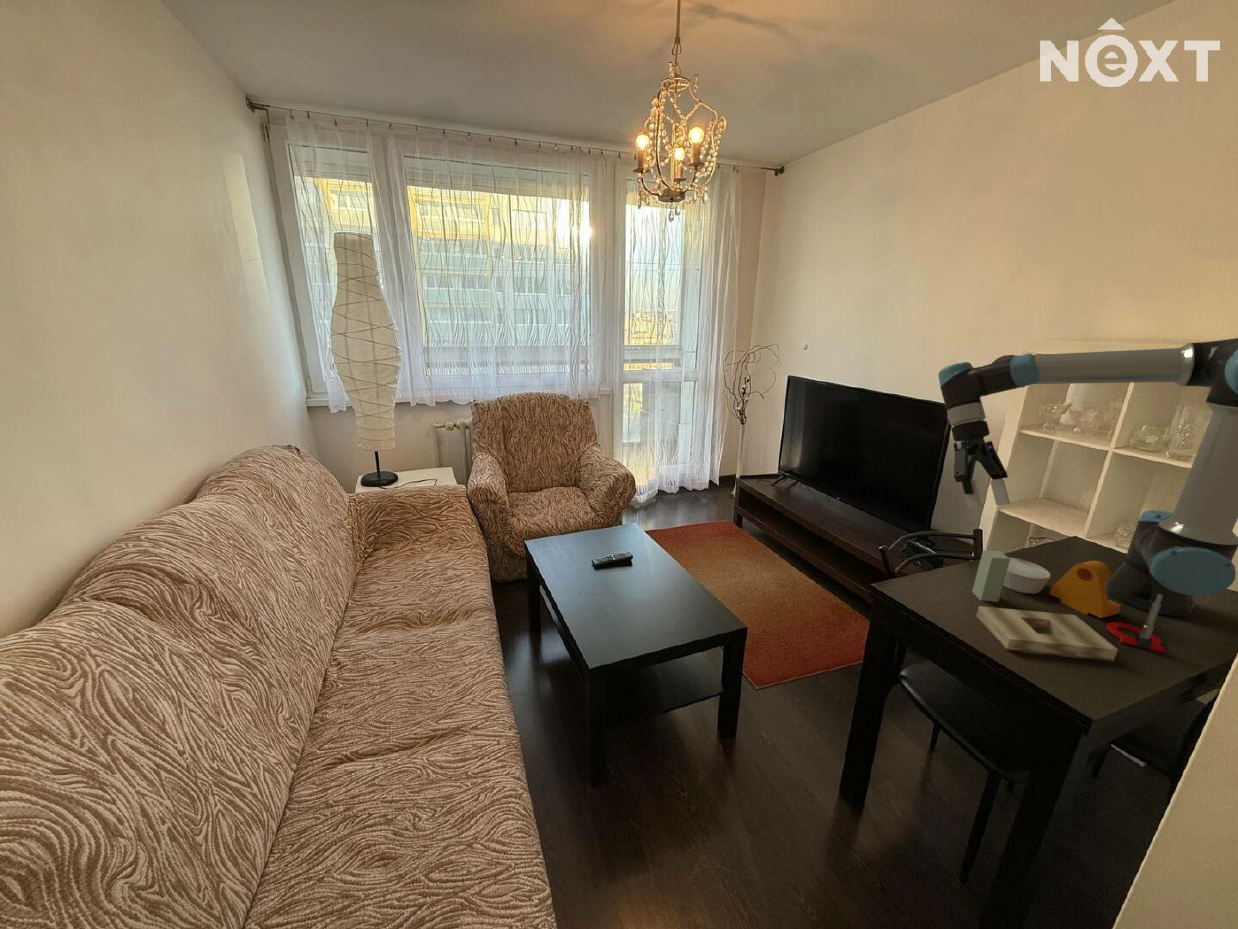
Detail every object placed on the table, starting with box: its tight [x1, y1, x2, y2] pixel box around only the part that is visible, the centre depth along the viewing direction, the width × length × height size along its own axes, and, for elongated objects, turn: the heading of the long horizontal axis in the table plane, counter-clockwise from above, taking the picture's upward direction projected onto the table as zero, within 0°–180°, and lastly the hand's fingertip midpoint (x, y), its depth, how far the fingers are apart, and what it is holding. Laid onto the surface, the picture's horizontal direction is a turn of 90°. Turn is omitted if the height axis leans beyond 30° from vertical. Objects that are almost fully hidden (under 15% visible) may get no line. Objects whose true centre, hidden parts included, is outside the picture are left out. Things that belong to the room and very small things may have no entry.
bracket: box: [1049, 560, 1122, 619], centre depth 117 cm, size 11×7×12 cm
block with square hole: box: [975, 605, 1119, 663], centre depth 106 cm, size 20×12×3 cm, turn 81°
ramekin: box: [1003, 557, 1052, 595], centre depth 127 cm, size 11×11×5 cm
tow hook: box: [1106, 594, 1166, 654], centre depth 105 cm, size 8×13×9 cm
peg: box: [972, 549, 1011, 603], centre depth 120 cm, size 4×4×12 cm
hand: (989, 506), depth 118 cm, fingers open, 13 cm apart
